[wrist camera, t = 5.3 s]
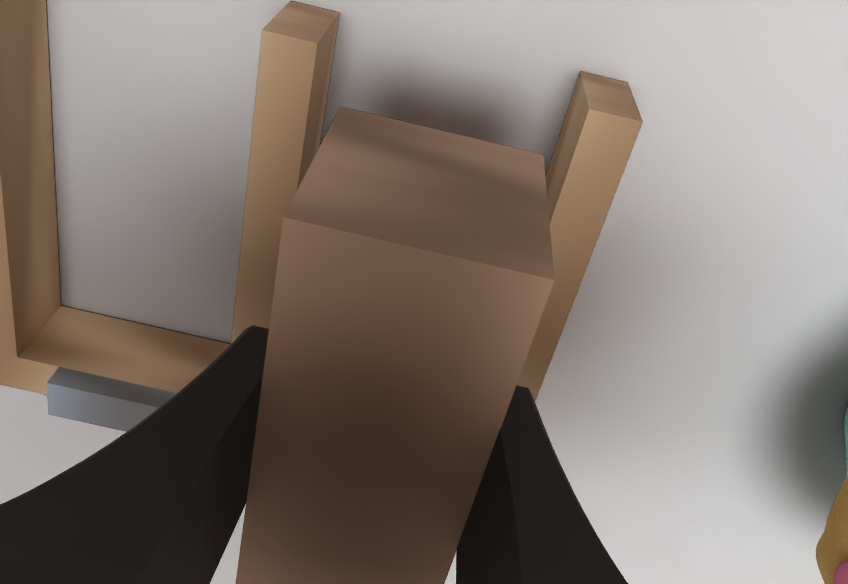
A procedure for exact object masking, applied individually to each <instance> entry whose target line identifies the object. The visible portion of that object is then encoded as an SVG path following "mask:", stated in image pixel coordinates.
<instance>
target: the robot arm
mask: <svg viewBox="0 0 848 584" xmlns="http://www.w3.org/2000/svg"><path fill="white" fill-rule="evenodd" d="M268 333H269V329H268V328H263V327H259V326H254V325H252V326H250V327H248V328H246V329H245V330H244V331H243V332H242V333H241V334H240V335H239V336H238V337H237V338H236V339H235V341H234V342H233V343H232V344H231V345H230V346H229V347H228V348H227V349H226V350H225V351H224V352H223V353H222V354H221V355H220V356H219V357H217V358H216V359H215V360H214V361H213V362H212V363H211V364H210V365H209V366H208V367H207V368H206V369H205V370H204V371H202V372H201V373H200V374H199V375H198V376H197V377H196V378H194V379H193V380H192V381H191V382H190V383H189V384H187V385H186V386H185V387H184V388H183V389H182V390H181V391H179V392H178V393H177V394H176V395H175V396H173V397H172V398H171V399H170V400H169V401H167V402H166V403H165V404H163V405H162V406H161V407H159V408H158V409H157V410H156V411H154V412H153V413H152V414H150V415H149V416H148V417H146V418H145V419H144V420H143V421H141V422H140V423H139V424H137V425H136V426H135V427H133V428H132V429H130V430H129V431H128V432H126V433H125V434H123V435H122V436H120V437H119V438H117V439H116V440H115V441H113V442H112V443H110V444H109V445H107V446H105V447H104V448H102V449H101V450H99V451H98V452H96V453H94V454H93V455H91V456H90V457H88V458H87V459H85V460H83V461H82V462H80V463H78V464H76V465H75V466H73V467H71V468H69V469H68V470H66V471H64V472H62V473H61V474H59V475H57V476H55V477H54V478H52V479H50V480H48V481H47V482H45V483H43V484H41V485H39V486H37V487H35V488H34V489H32V490H30V491H28V492H26V493H24V494H22V495H20V496H18V497H16V498H14V499H11V500H9V501H7V502H5V503H3V504H1V505H0V584H210V582H211V579H212V577H213V575H214V573H215V570H216V568H217V566H218V564H219V562H220V559H221V557H222V555H223V553H224V551H225V548H226V546H227V544H228V542H229V540H230V537H231V535H232V533H233V531H234V529H235V526H236V524H237V522H238V520H239V518H240V515H241V513H242V511H243V509H244V506H245V504H246V501H247V493H248V486H249V478H250V470H251V463H252V455H253V447H254V440H255V432H256V424H257V417H258V409H259V401H260V394H261V386H262V379H263V371H264V363H265V356H266V348H267V340H268ZM456 584H628V583H627V582H626V580H625V579H624V577H623V576H622V574H621V573H620V571H619V570H618V568H617V567H616V565H615V564H614V562H613V560H612V559H611V557H610V556H609V554H608V553H607V551H606V549H605V548H604V546H603V544H602V543H601V541H600V539H599V538H598V536H597V534H596V533H595V531H594V529H593V527H592V525H591V524H590V522H589V520H588V518H587V516H586V515H585V513H584V511H583V509H582V507H581V505H580V503H579V501H578V499H577V498H576V496H575V494H574V492H573V490H572V488H571V485H570V483H569V481H568V479H567V477H566V475H565V473H564V471H563V469H562V467H561V465H560V462H559V460H558V458H557V456H556V453H555V451H554V449H553V447H552V444H551V442H550V439H549V437H548V435H547V432H546V430H545V427H544V425H543V422H542V420H541V417H540V415H539V412H538V409H537V406H536V404H535V401H534V398H533V395H532V393H531V392H530V390H529V389H528V388H527V387H522V386H518V385H516V388H515V391H514V393H513V396H512V399H511V402H510V404H509V407H508V410H507V413H506V415H505V418H504V421H503V424H502V426H501V429H500V430H499V433H498V435H497V438H496V441H495V444H494V446H493V449H492V452H491V455H490V457H489V460H488V463H487V466H486V468H485V471H484V474H483V477H482V480H481V482H480V485H479V488H478V491H477V493H476V496H475V499H474V502H473V504H472V507H471V510H470V513H469V515H468V518H467V521H466V524H465V526H464V529H463V532H462V535H461V537H460V540H459V543H458V546H457V552H456Z"/></svg>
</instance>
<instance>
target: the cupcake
mask: <svg viewBox="0 0 848 584" xmlns="http://www.w3.org/2000/svg"><path fill="white" fill-rule="evenodd" d="M844 432H845V443H846V460H847V474H846V480H845V481H844V483H843V485H842V487H841V489H840V490H839V492H838V494H837V496H836V498H835V500H834V503H833V505H832V507H831V510H830V512H829V515H828V519H827V523H826V527H825V530H824V533H823V534H822V536H821V538H820V540H819V542H818V544H817V547H816V559H817V564H818V567H819V570H820V572H821V575H822V578H823V580H824V583H825V584H848V408H847V411H846V414H845V421H844Z"/></svg>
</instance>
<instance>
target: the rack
mask: <svg viewBox="0 0 848 584" xmlns="http://www.w3.org/2000/svg"><path fill="white" fill-rule="evenodd" d="M339 14H340V13H339V12H335V11H330V10H326V9H322V8H318V7H314V6H310V5H306V4H302V3H297V2H293V1H290V2H289V3H288V4H287V5H286V6H285V7H284V8H283V9H282V10H281V11H280V12H279V13H278V14H277V15H276V16H275V17H274V18H273V19H272V20H271V21H270V22H269V23H268V25H267V26H266V27H265V28H264V29H263V30H262V36H261V47H260V57H259V67H258V77H257V87H256V97H255V107H254V117H253V127H252V137H251V148H250V158H249V168H248V178H247V188H246V198H245V208H244V218H243V228H242V238H241V249H240V259H239V269H238V279H237V289H236V299H235V309H234V319H233V329H232V339H231V344H232V343H233V342H234V341H235V339H236V338H237V337H238V336H239V335H240V334H241V333H242V332H243V331H244V330H245V329H246V328H248V327H250V326H252V325H254V326H259V327H263V328H268V329H269V325H270V317H271V310H272V302H273V294H274V287H275V279H276V271H277V264H278V256H279V248H280V241H281V233H282V225H283V218H284V215H285V213H286V211H287V210H288V208H289V206H290V204H291V202H292V200H293V198H294V196H295V194H296V192H297V190H298V188H299V186H300V184H301V182H302V180H303V178H304V176H305V174H306V172H307V170H308V168H309V166H310V165H311V163H312V161H313V159H314V157H315V155H316V153H317V151H318V149H319V147H320V140H321V133H322V127H323V120H324V113H325V107H326V100H327V93H328V87H329V80H330V74H331V67H332V60H333V54H334V47H335V40H336V34H337V27H338V20H339ZM642 123H643V121H642V118H641V116H640V113H639V111H638V108H637V105H636V103H635V100H634V97H633V95H632V92H631V90H630V87H629V84H628V83H627V82H622V81H618V80H614V79H610V78H606V77H602V76H598V75H594V74H590V73H585V72H581V71H580V74H579V77H578V80H577V83H576V86H575V89H574V92H573V95H572V99H571V102H570V105H569V108H568V111H567V114H566V117H565V120H564V123H563V126H562V129H561V132H560V135H559V138H558V141H557V144H556V147H555V150H554V154H553V157H552V160H551V163H550V166H549V169H548V172H547V175H546V189H547V200H548V211H549V222H550V233H551V244H552V256H553V267H554V278H555V281H554V283H553V286H552V289H551V292H550V294H549V297H548V300H547V303H546V305H545V308H544V311H543V314H542V316H541V319H540V322H539V325H538V327H537V330H536V333H535V336H534V338H533V341H532V344H531V347H530V349H529V352H528V355H527V358H526V360H525V363H524V366H523V369H522V371H521V374H520V377H519V380H518V382H517V385H518V386H522V387H527V388H528V389H529V390H530V392H531V393H532V395H533V398H534V401H535V400H536V398H537V395H538V392H539V390H540V387H541V385H542V382H543V379H544V377H545V374H546V372H547V369H548V366H549V364H550V361H551V359H552V356H553V354H554V351H555V348H556V346H557V343H558V341H559V338H560V335H561V333H562V330H563V328H564V325H565V322H566V320H567V317H568V315H569V312H570V309H571V307H572V304H573V302H574V299H575V296H576V294H577V291H578V289H579V286H580V283H581V281H582V278H583V276H584V273H585V270H586V268H587V265H588V263H589V260H590V257H591V255H592V252H593V250H594V247H595V245H596V242H597V239H598V237H599V234H600V232H601V229H602V226H603V224H604V221H605V219H606V216H607V213H608V211H609V208H610V206H611V203H612V200H613V198H614V195H615V193H616V190H617V187H618V185H619V182H620V180H621V177H622V174H623V172H624V169H625V167H626V164H627V161H628V159H629V156H630V154H631V151H632V148H633V146H634V143H635V141H636V138H637V136H638V133H639V130H640V128H641V125H642ZM231 344H228V343H224V342H219V341H215V340H210V339H206V338H201V337H197V336H192V335H188V334H184V333H179V332H175V331H170V330H166V329H161V328H157V327H153V326H148V325H144V324H139V323H135V322H130V321H126V320H122V319H117V318H113V317H108V316H104V315H99V314H95V313H91V312H86V311H82V310H77V309H73V308H68V307H64V306H61V298H60V277H59V257H58V236H57V216H56V195H55V175H54V154H53V134H52V113H51V93H50V72H49V52H48V31H47V11H46V0H0V385H4V386H9V387H13V388H18V389H22V390H27V391H31V392H36V393H40V394H45V395H47V397H48V412H49V415H54V416H58V417H63V418H67V419H72V420H76V421H81V422H85V423H90V424H94V425H99V426H104V427H108V428H113V429H117V430H122V431H126V432H128V431H129V430H130V429H132V428H133V427H135V426H136V425H137V424H139V423H140V422H141V421H143V420H144V419H145V418H146V417H148V416H149V415H150V414H152V413H153V412H154V411H156V410H157V409H158V408H159V407H161V406H162V405H163V404H165V403H166V402H167V401H169V400H170V399H171V398H172V397H173V396H175V395H176V394H177V393H178V392H179V391H181V390H182V389H183V388H184V387H185V386H186V385H187V384H189V383H190V382H191V381H192V380H193V379H194V378H196V377H197V376H198V375H199V374H200V373H201V372H202V371H204V370H205V369H206V368H207V367H208V366H209V365H210V364H211V363H212V362H213V361H214V360H215V359H216V358H217V357H219V356H220V355H221V354H222V353H223V352H224V351H225V350H226V349H227V348H228V347H229V346H230V345H231Z"/></svg>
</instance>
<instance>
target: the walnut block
mask: <svg viewBox="0 0 848 584" xmlns="http://www.w3.org/2000/svg"><path fill="white" fill-rule="evenodd" d="M554 281H555V278H554V267H553V256H552V244H551V233H550V222H549V211H548V200H547V189H546V178H545V167H544V155H543V154H539V153H534V152H530V151H526V150H522V149H518V148H513V147H509V146H505V145H501V144H497V143H492V142H488V141H484V140H480V139H476V138H471V137H467V136H463V135H459V134H455V133H450V132H446V131H442V130H438V129H434V128H429V127H425V126H421V125H417V124H413V123H408V122H404V121H400V120H396V119H392V118H387V117H383V116H379V115H375V114H370V113H366V112H362V111H358V110H354V109H349V108H345V107H341V106H340V108H339V110H338V112H337V114H336V116H335V118H334V119H333V121H332V123H331V125H330V127H329V129H328V131H327V133H326V135H325V137H324V139H323V141H322V143H321V145H320V147H319V149H318V151H317V153H316V155H315V157H314V159H313V161H312V163H311V165H310V166H309V168H308V170H307V172H306V174H305V176H304V178H303V180H302V182H301V184H300V186H299V188H298V190H297V192H296V194H295V196H294V198H293V200H292V202H291V204H290V206H289V208H288V210H287V211H286V213H285V215H284V218H283V225H282V233H281V241H280V248H279V256H278V264H277V271H276V279H275V287H274V294H273V302H272V310H271V317H270V325H269V333H268V340H267V348H266V356H265V363H264V371H263V379H262V386H261V394H260V401H259V409H258V417H257V424H256V432H255V440H254V447H253V455H252V463H251V470H250V478H249V486H248V493H247V501H246V509H245V516H244V524H243V532H242V539H241V547H240V555H239V562H238V570H237V578H236V584H444V583H445V580H446V578H447V575H448V572H449V569H450V567H451V564H452V561H453V558H454V556H455V553H456V550H457V546H458V543H459V540H460V537H461V535H462V532H463V529H464V526H465V524H466V521H467V518H468V515H469V513H470V510H471V507H472V504H473V502H474V499H475V496H476V493H477V491H478V488H479V485H480V482H481V480H482V477H483V474H484V471H485V468H486V466H487V463H488V460H489V457H490V455H491V452H492V449H493V446H494V444H495V441H496V438H497V435H498V433H499V430H500V429H501V426H502V424H503V421H504V418H505V415H506V413H507V410H508V407H509V404H510V402H511V399H512V396H513V393H514V391H515V388H516V385H517V382H518V380H519V377H520V374H521V371H522V369H523V366H524V363H525V360H526V358H527V355H528V352H529V349H530V347H531V344H532V341H533V338H534V336H535V333H536V330H537V327H538V325H539V322H540V319H541V316H542V314H543V311H544V308H545V305H546V303H547V300H548V297H549V294H550V292H551V289H552V286H553V283H554Z"/></svg>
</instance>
